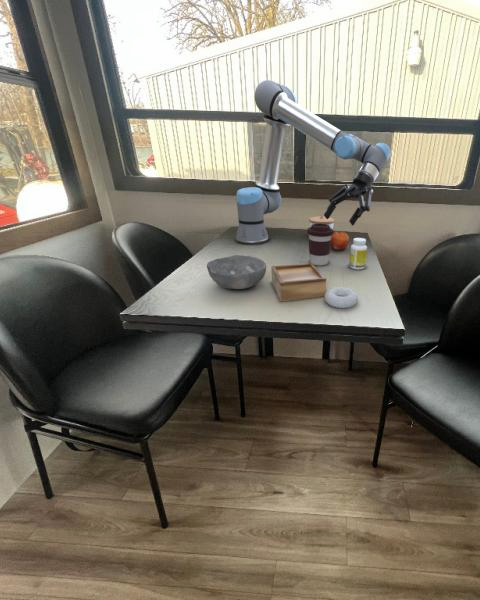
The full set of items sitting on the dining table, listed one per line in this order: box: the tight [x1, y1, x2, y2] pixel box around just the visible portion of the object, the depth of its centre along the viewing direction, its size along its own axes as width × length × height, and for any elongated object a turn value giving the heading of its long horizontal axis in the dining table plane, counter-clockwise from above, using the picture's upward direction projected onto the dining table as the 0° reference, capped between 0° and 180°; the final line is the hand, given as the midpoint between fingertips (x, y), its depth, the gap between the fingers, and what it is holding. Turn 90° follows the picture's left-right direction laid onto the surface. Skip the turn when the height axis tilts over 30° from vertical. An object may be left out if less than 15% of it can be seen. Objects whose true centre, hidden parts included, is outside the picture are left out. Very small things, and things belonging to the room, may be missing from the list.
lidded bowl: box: [308, 214, 335, 230], centre depth 151 cm, size 13×13×11 cm
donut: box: [323, 286, 359, 309], centre depth 88 cm, size 10×4×10 cm
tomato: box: [331, 230, 350, 251], centre depth 134 cm, size 9×9×8 cm
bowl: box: [206, 254, 267, 290], centre depth 94 cm, size 18×18×8 cm
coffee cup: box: [306, 223, 334, 266], centre depth 115 cm, size 10×10×15 cm
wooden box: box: [270, 262, 327, 302], centre depth 94 cm, size 14×14×6 cm
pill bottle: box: [349, 237, 368, 270], centre depth 113 cm, size 6×6×11 cm
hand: (337, 220), depth 117 cm, fingers open, 13 cm apart
